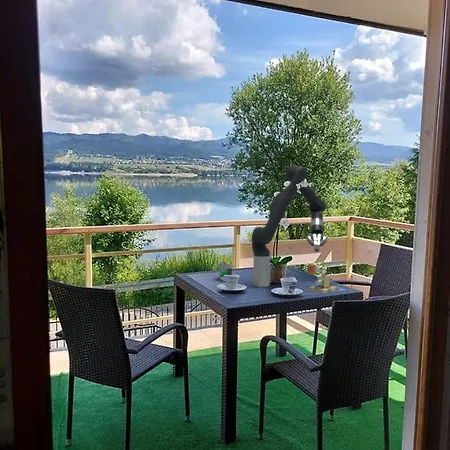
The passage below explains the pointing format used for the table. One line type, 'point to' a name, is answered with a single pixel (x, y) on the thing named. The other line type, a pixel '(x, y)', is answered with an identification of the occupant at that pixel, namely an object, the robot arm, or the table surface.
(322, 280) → the valve body
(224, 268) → the food container
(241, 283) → the table surface
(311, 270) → the valve lever
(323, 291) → the mounting board
